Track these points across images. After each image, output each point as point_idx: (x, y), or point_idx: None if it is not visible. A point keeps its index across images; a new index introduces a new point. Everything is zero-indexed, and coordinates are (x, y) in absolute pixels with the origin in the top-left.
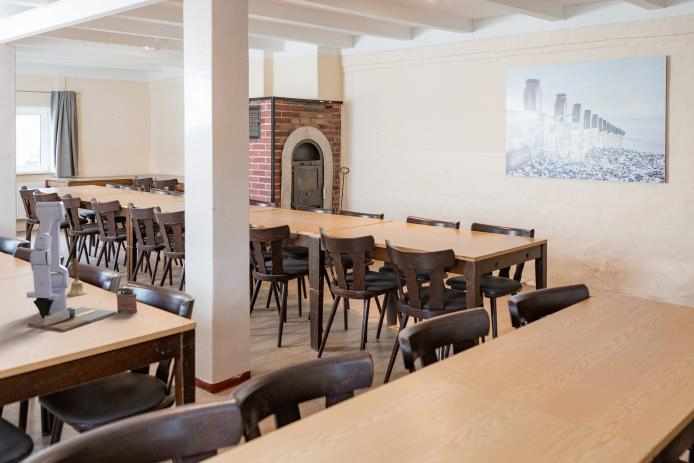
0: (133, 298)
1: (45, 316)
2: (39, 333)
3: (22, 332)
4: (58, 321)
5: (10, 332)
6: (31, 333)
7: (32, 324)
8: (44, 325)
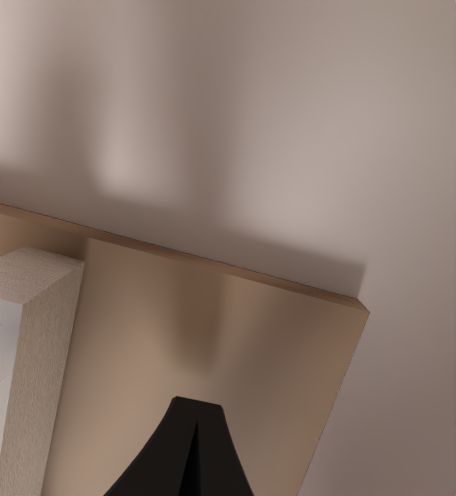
0: None
1: (1, 296)
2: (29, 28)
3: (281, 42)
4: (60, 431)
5: (442, 19)
6: (133, 13)
7: (298, 293)
8: (110, 263)
